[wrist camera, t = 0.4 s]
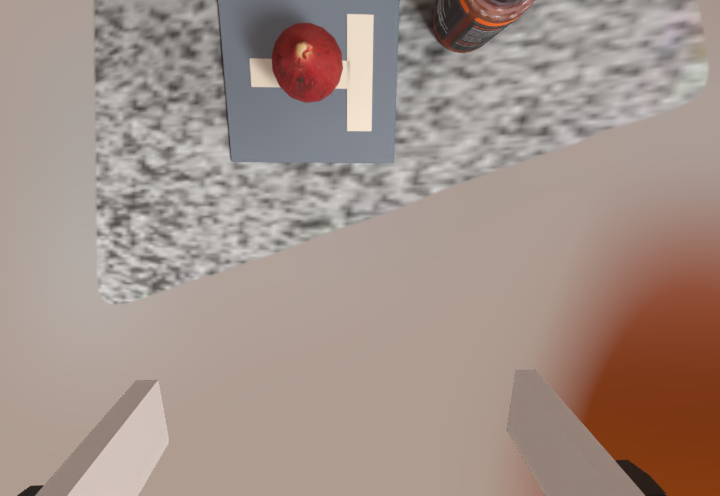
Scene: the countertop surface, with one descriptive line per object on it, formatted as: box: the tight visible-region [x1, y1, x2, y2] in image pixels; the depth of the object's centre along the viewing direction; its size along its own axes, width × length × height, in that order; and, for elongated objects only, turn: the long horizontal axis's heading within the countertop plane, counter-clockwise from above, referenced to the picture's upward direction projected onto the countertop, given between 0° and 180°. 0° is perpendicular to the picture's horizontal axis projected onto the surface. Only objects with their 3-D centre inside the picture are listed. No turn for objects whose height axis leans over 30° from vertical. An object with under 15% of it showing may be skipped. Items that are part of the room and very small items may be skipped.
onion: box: [271, 23, 343, 103], centre depth 29 cm, size 6×6×8 cm
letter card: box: [218, 0, 399, 163], centre depth 33 cm, size 16×16×1 cm
